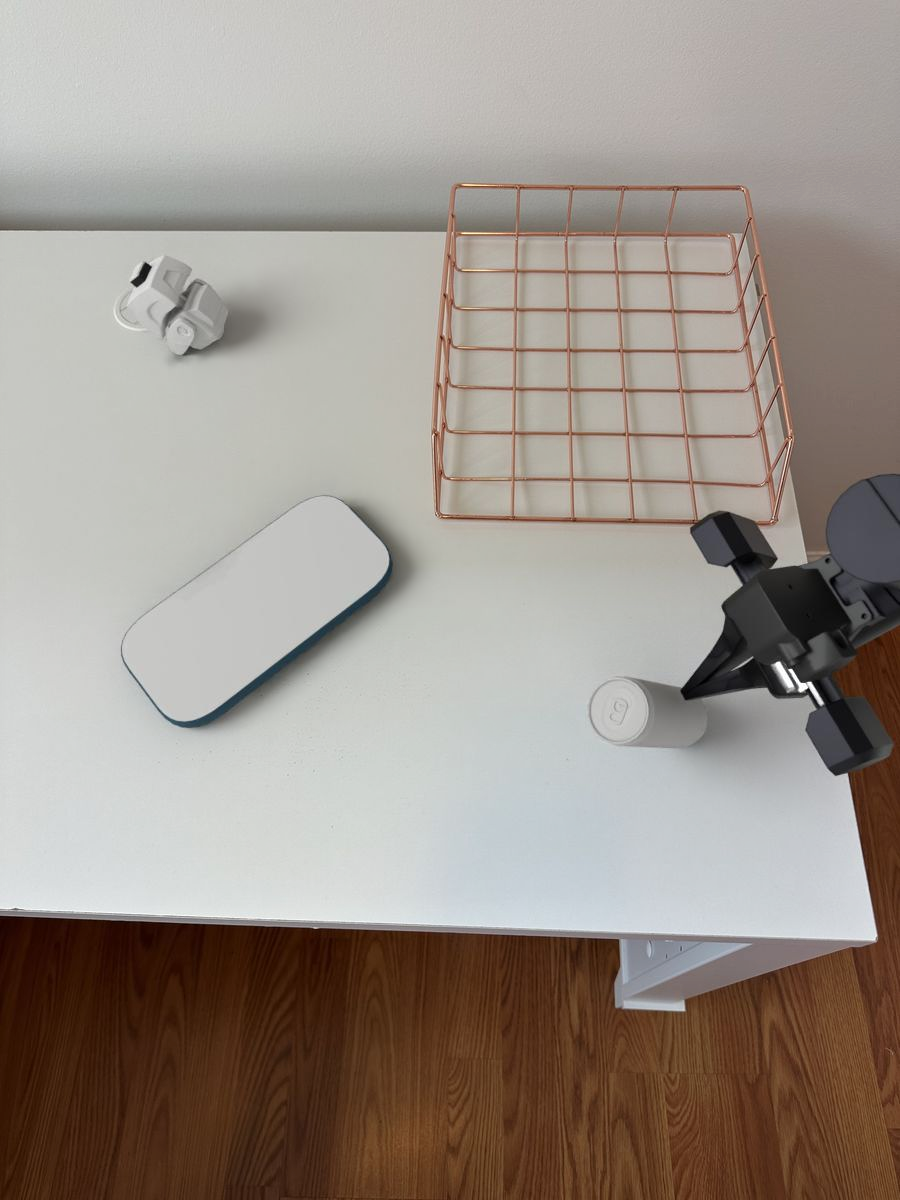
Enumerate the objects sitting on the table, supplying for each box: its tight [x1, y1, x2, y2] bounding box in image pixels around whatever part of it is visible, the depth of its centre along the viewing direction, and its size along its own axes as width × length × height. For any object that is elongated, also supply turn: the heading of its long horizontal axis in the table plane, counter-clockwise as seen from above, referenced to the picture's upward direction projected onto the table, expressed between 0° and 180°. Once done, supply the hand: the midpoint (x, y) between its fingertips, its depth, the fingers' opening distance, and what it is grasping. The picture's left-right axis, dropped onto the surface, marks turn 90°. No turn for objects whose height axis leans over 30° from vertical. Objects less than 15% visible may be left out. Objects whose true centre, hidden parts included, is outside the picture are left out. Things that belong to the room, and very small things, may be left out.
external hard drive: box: [120, 494, 394, 729], centre depth 72 cm, size 24×12×2 cm, turn 131°
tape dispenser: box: [126, 254, 230, 356], centre depth 83 cm, size 6×7×10 cm
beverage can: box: [586, 675, 709, 749], centre depth 62 cm, size 5×5×12 cm
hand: (684, 695), depth 60 cm, fingers closed
